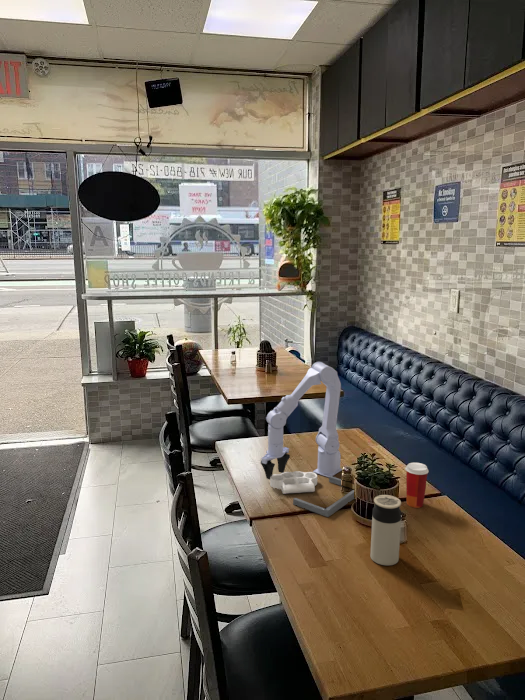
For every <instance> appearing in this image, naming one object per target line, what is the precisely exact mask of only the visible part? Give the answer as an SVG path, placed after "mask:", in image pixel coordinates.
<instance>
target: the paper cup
mask: <svg viewBox="0 0 525 700" xmlns="http://www.w3.org/2000/svg"><path fill="white" fill-rule="evenodd" d="M404 470H405V471H406V472H405V473H406V480H405V481H406V482H405V483H406V487H405V488H406V504H407V506H409V507H410V508H415V509H420V508H422V507H423V506H424V503H425V502H424V501H425V495H426V489H427V488H426V487H427V479H428V473H429V469H428V466H427V465H426V464H424V463H420V462H410V463H408V464H407V465H406V466H405V468H404Z"/></svg>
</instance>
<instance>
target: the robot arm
mask: <svg viewBox="0 0 525 700" xmlns="http://www.w3.org/2000/svg"><path fill="white" fill-rule="evenodd" d="M322 384H323V385H325V387H326V389H325V397H324V398H325V399H324V407H323V416H322V425H321V426H320V427H319V428H318V432H317V435H316V436H315V442H316V444H317V445H318V446H317V447H318V448H317V467H316V469H314V470H313V471H312V472H313V473H316V474H317V475H320V476H324V477H326V478H329V477H330V476H333V477H334V476H335V475H336V474H338V473H340V472H341V471H343V469H342V468H341V455H342V454H341V452H340V450H339V449H340V441H339V433H338V430H337V422H338V421H337V420H338V414H339V413H338V412H339V406H340V405H339V404H340V399H341V397H340V396H341V389H342V383H341V380H340V378H339V376H338V371H337V370H335V368H334V367H331V366H329V365H327V364H326V363H324V362H323V361H316V362H314V363H313V364H312V365H311V367H310V368H308V370H307V372H306V374H305V375H304V377H303V378H302V380H301V381H300V382H299V384H297V386H296V387H295V389H294V390H293V391H292V393H291V394H287V395H285V396H282V398H281V400H280V402H279V403H278V404H277V405H276V406H275V407H274V408H273V409H271V410H270V411H269V412H268V413H267V415H266V416H265V420H266V422H267V423H268V424H267V425H268V426H267V430H268V431H267V443H268V444H267V450H266V451H265V453H266V454H264V456H262V457H261V460H260V465H261V467H262V468H263V470H264V473H265V478H266V479H267V480H269V481H270V477H271V476H272V475H274V467H275V465H276V464H275V463H273V462H272V460H277V469H278V472H279V473H280V474H281V473H284V472H285V470H286V467H287V464H288V462H289V460H290V458H291V455H290V454H289V453H290V452H289V451H290V447H286V446H284V426H286V424H287V419H288V417H289V416H290V415H291V414H292V413H293V412H294V410H295V409H296V408H297V407H298V406H299V400H300V399H302V397H303V396H304V395H305V394H306V393H307V392H308V390H310V389H311V388H312V387H313V386H316V385H322Z"/></svg>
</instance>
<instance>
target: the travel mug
mask: <svg viewBox="0 0 525 700" xmlns="http://www.w3.org/2000/svg"><path fill="white" fill-rule="evenodd" d="M373 502H374V507H372V514H371V515H372V517H371V518H372V519H371V536H370V537H371V539H370V556H369V557H370V559H371V560H372V561H373V562H374V563H376V564H378V565H381V566H393V565H396V564H397V563H398V562H399V559H400V542H401V529H402V527H401V526H402V511H401V509H400V507H401V505H402V501H401V499H399V498H398V497H396V496H395V495H394V496H393V495H389V494H380V495H376V496H375V497H374V499H373Z"/></svg>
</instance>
